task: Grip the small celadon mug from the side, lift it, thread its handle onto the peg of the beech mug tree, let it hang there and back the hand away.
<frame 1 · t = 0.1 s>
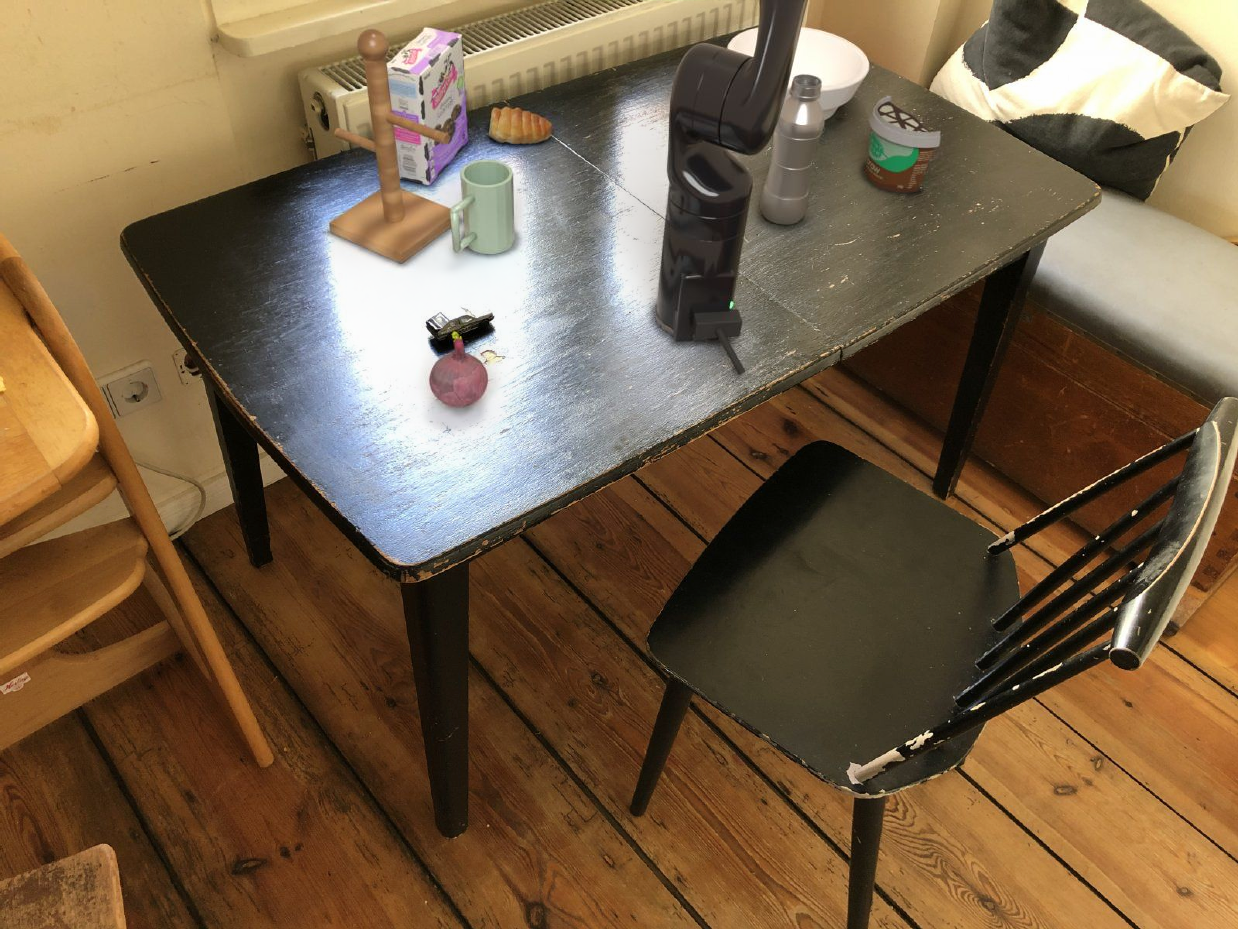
bowl: (788, 106, 164), on the table
vegetable: (461, 406, 112), on the table
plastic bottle: (780, 218, 141), on the table
pastry: (516, 135, 153), on the table
candy box: (432, 160, 147), on the table
food container: (880, 180, 150), on the table
mug: (489, 240, 133), on the table
mug tree: (395, 226, 134), on the table
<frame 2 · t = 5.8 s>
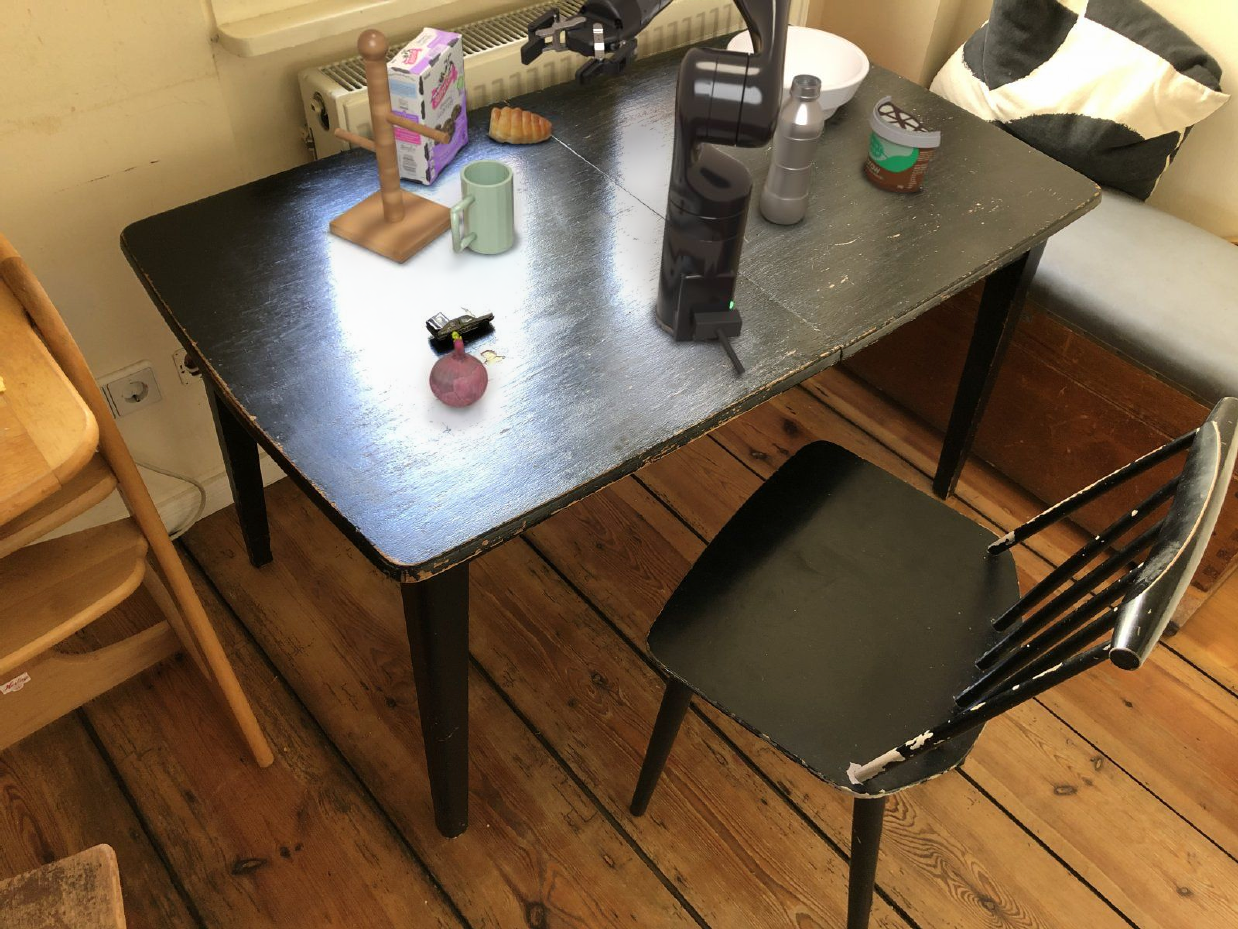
hand: (549, 69, 128), 18 cm above the table, tool horizontal, fingers open, 8 cm apart
nothing on the table moved.
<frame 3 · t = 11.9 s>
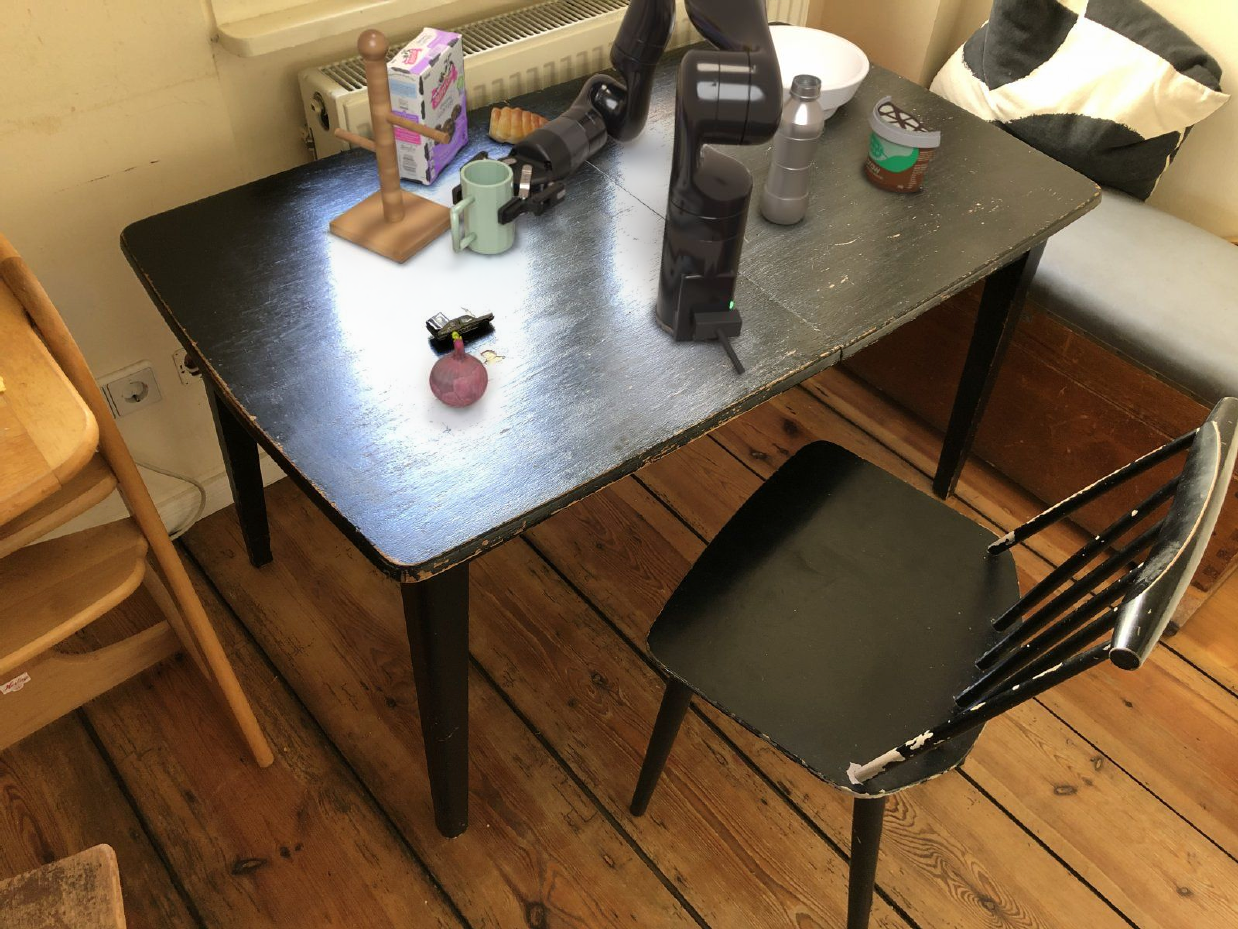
hand: (477, 208, 128), 6 cm above the table, tool horizontal, fingers closed on mug, 6 cm apart
mug: (489, 240, 133), on the table, touching gripper
everything else where it was.
when the fingers open (15 cm above the table, at t = 17.3 s): mug moves 9 cm and tips over, resting on mug tree.
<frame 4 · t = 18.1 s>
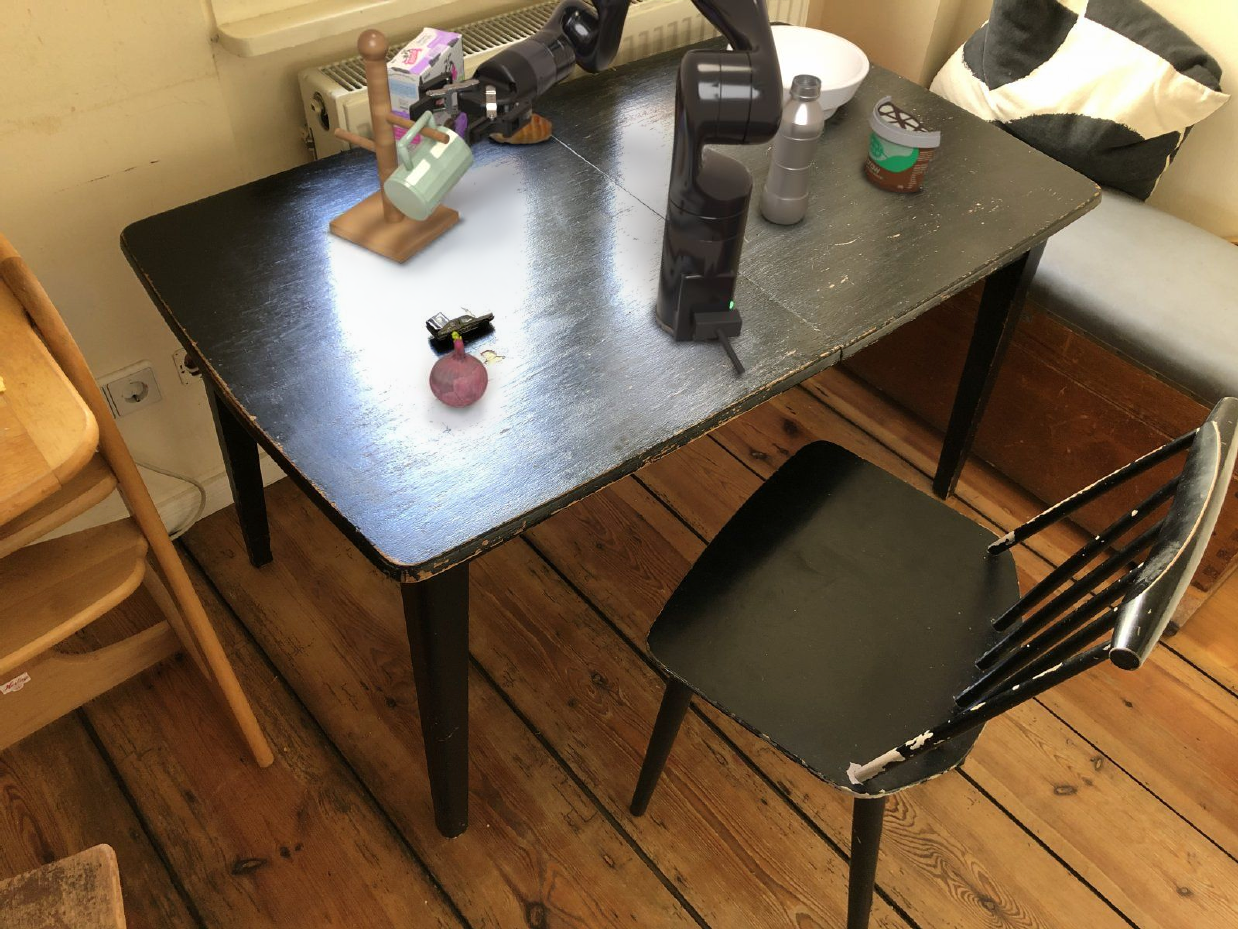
hand: (439, 127, 123), 15 cm above the table, tool horizontal, fingers open, 8 cm apart
mug: (405, 200, 123), point 9 cm above the table, tilted 72°, touching mug tree
everything else where it was.
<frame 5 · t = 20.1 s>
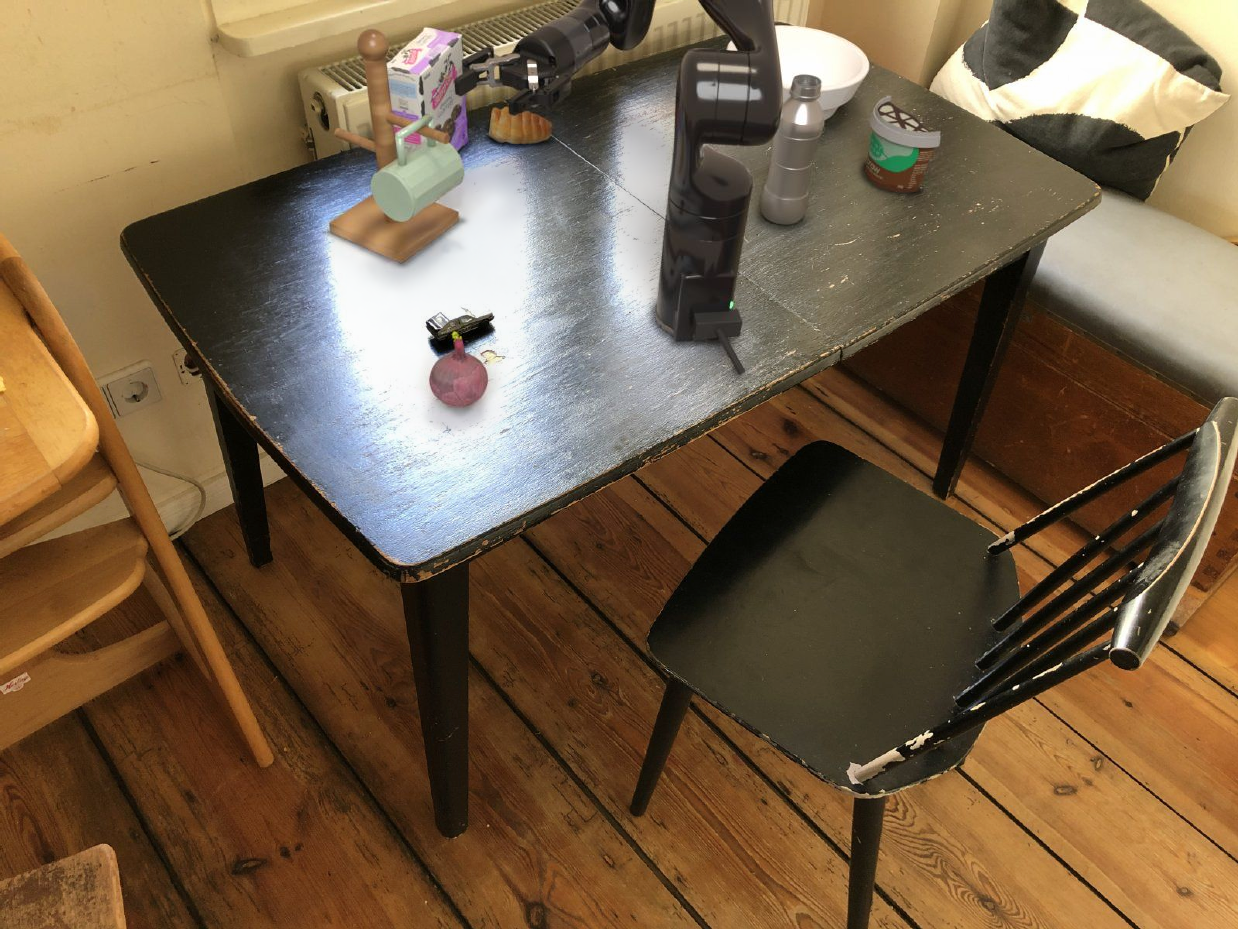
hand: (483, 98, 128), 15 cm above the table, tool horizontal, fingers open, 8 cm apart
mug: (391, 196, 121), point 10 cm above the table, tilted 90°, touching mug tree
everything else where it was.
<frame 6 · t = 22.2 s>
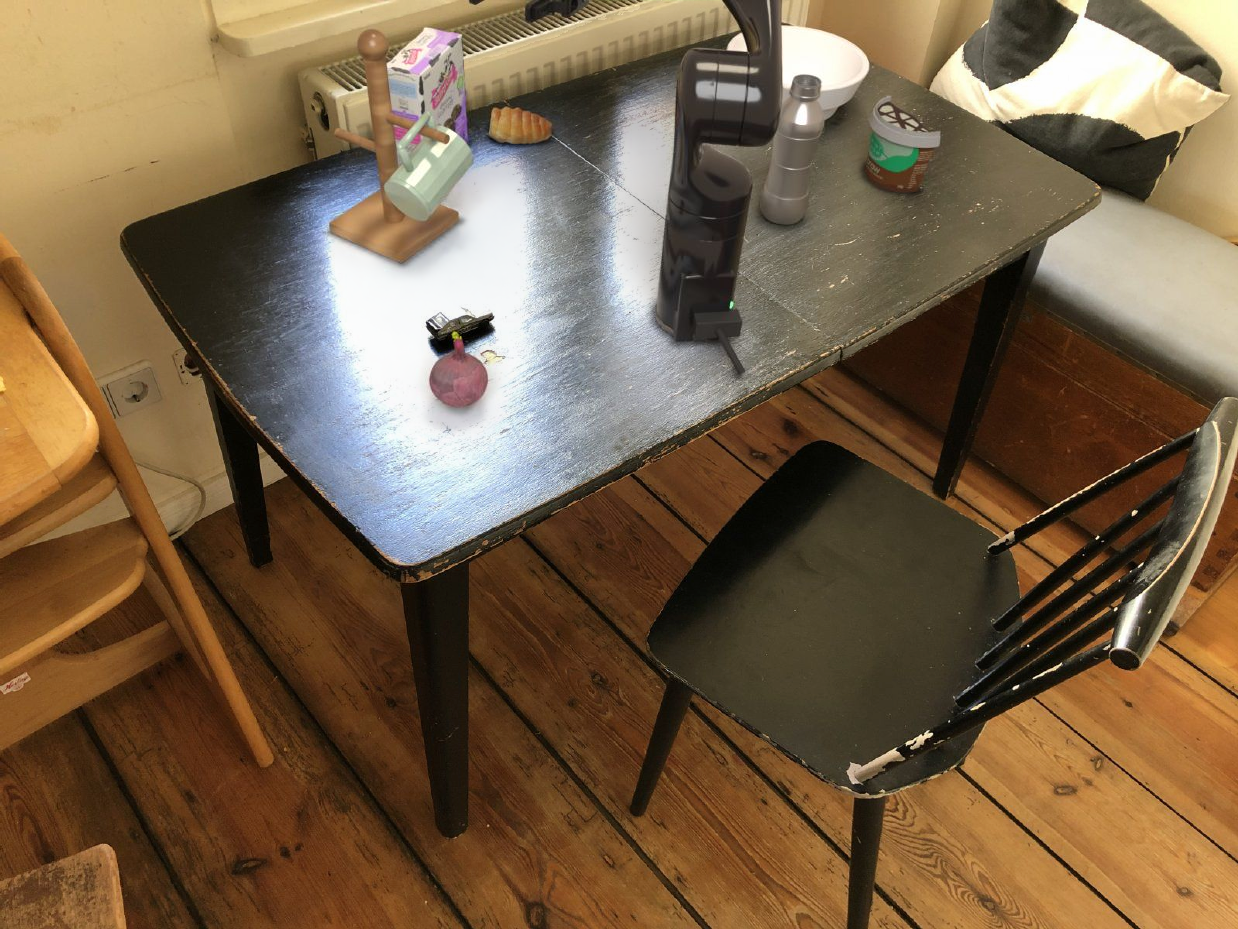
hand: (498, 5, 123), 26 cm above the table, tool horizontal, fingers open, 8 cm apart
mug: (406, 201, 124), point 8 cm above the table, tilted 71°, touching mug tree
everything else where it was.
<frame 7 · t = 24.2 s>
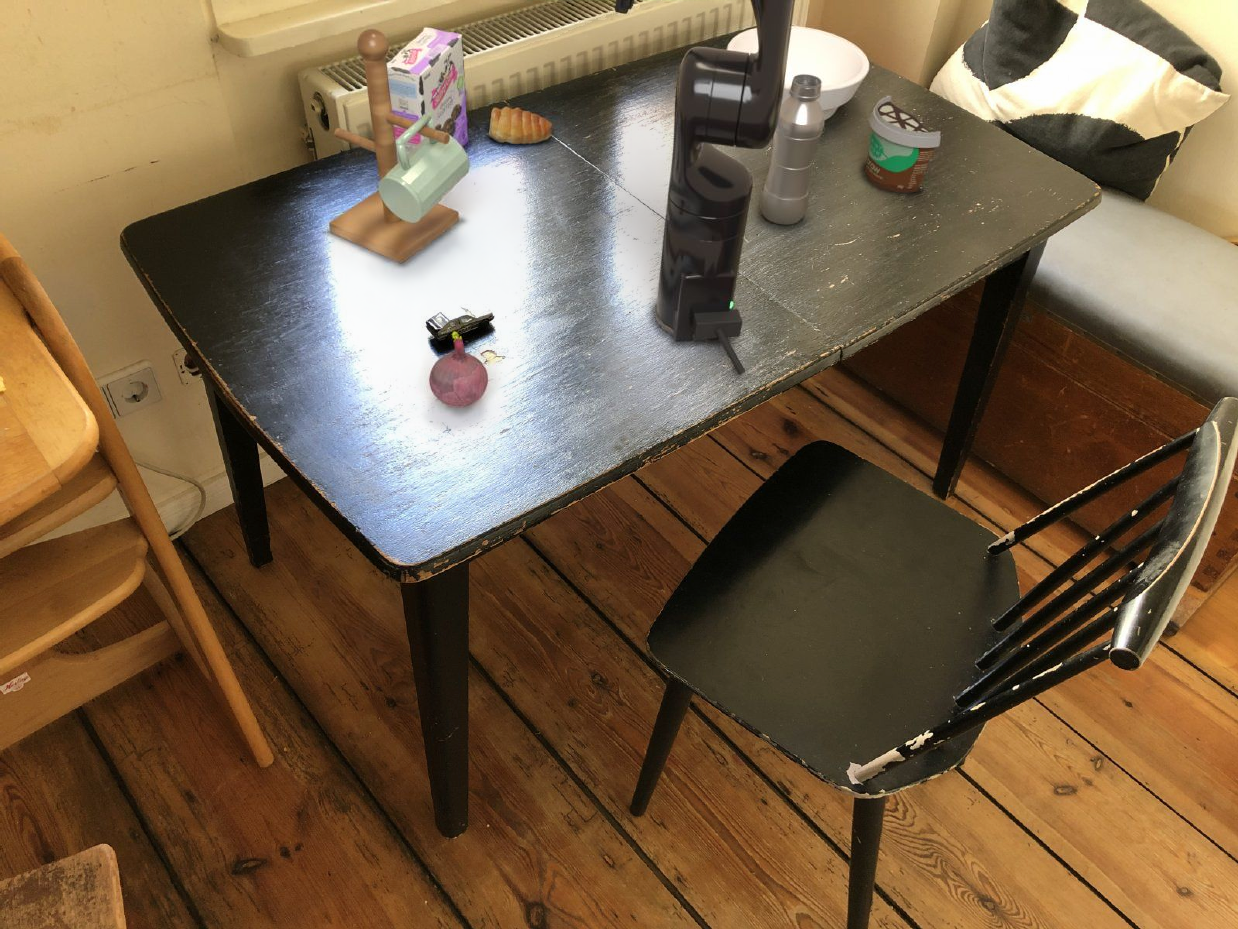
hand: (590, 4, 120), 28 cm above the table, tool tilted 20°, fingers open, 8 cm apart
mug: (399, 200, 122), point 9 cm above the table, tilted 79°, touching mug tree
everything else where it was.
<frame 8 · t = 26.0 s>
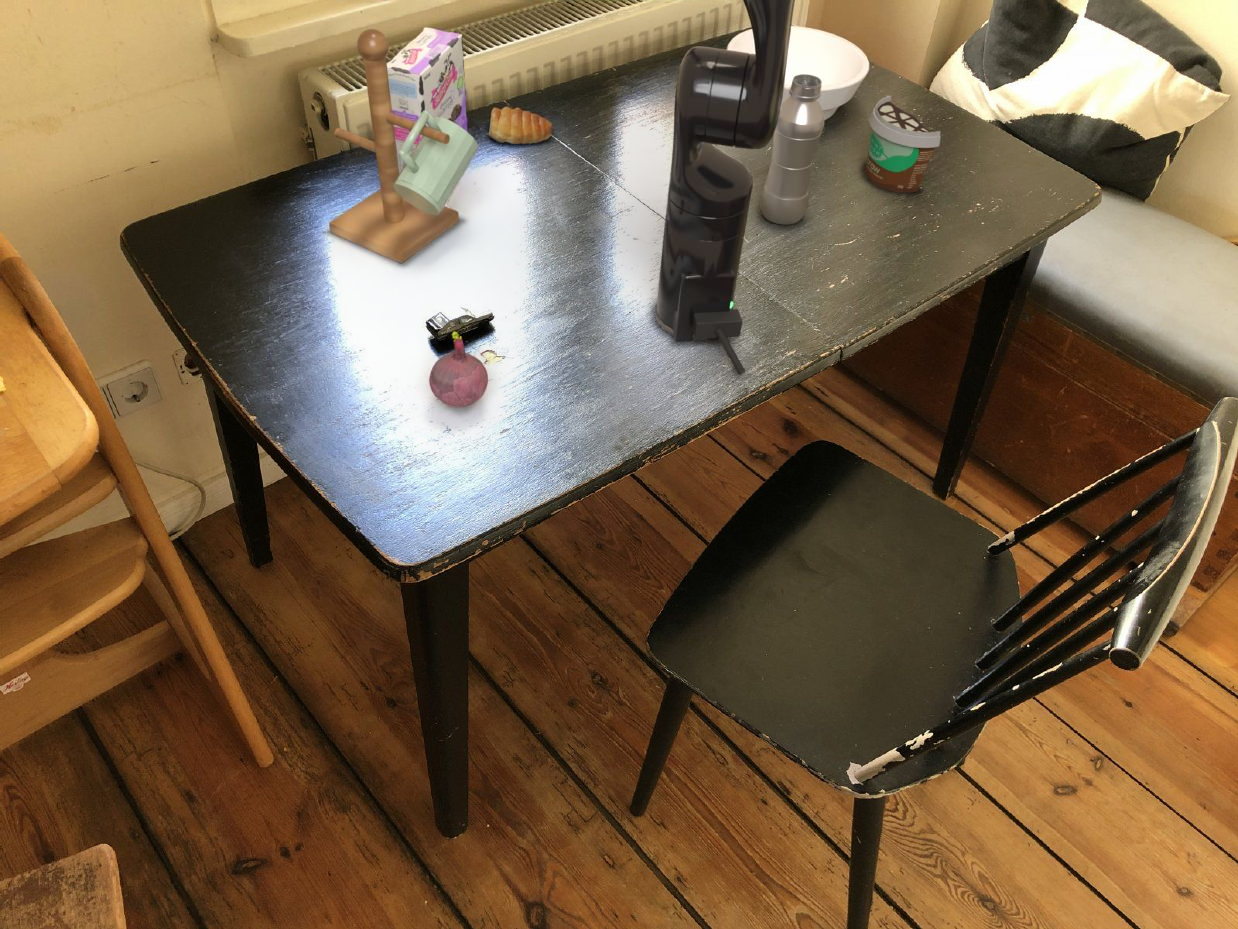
mug: (416, 200, 125), point 8 cm above the table, tilted 58°, touching mug tree
everything else where it was.
at the end: mug touching mug tree; mug point 7.5 cm above the table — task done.
